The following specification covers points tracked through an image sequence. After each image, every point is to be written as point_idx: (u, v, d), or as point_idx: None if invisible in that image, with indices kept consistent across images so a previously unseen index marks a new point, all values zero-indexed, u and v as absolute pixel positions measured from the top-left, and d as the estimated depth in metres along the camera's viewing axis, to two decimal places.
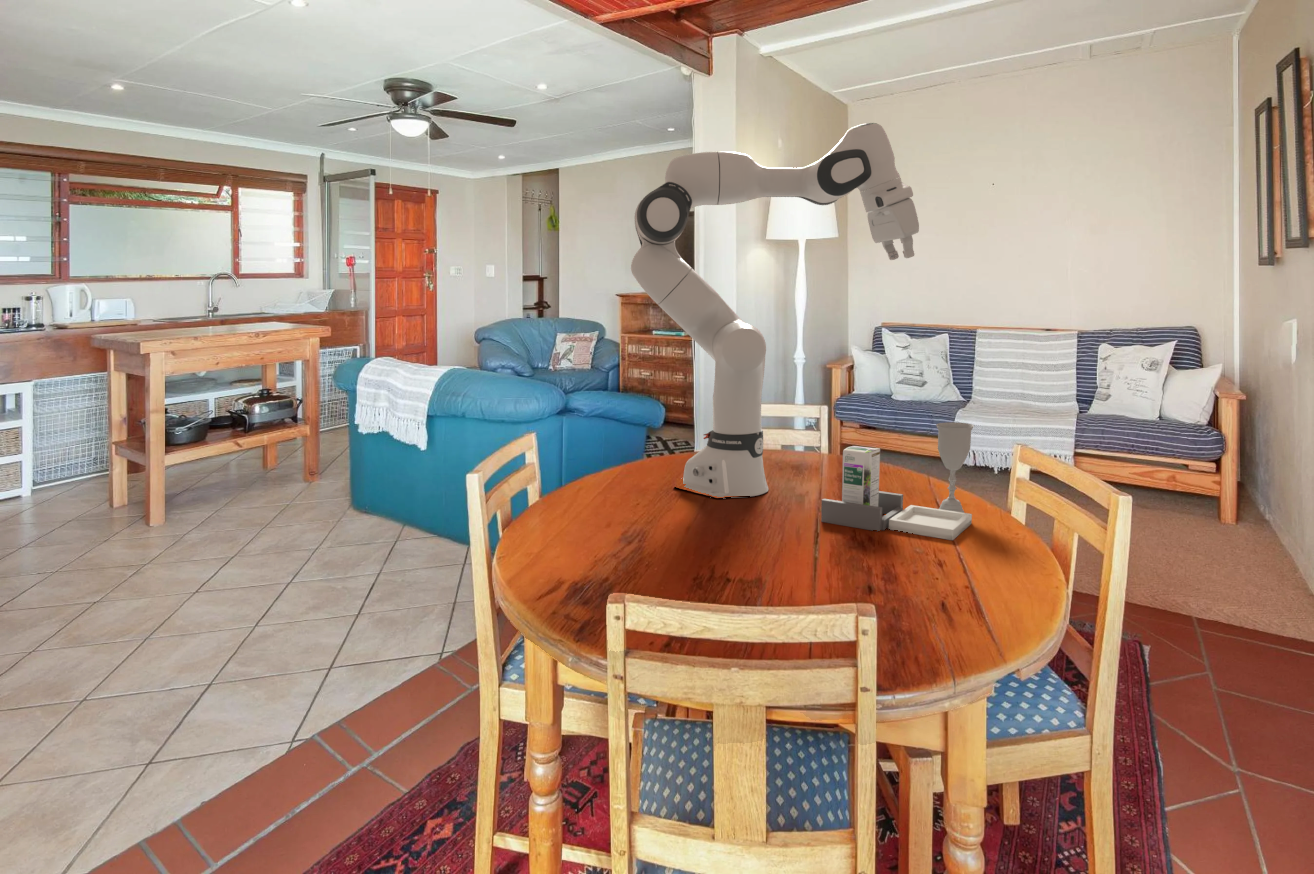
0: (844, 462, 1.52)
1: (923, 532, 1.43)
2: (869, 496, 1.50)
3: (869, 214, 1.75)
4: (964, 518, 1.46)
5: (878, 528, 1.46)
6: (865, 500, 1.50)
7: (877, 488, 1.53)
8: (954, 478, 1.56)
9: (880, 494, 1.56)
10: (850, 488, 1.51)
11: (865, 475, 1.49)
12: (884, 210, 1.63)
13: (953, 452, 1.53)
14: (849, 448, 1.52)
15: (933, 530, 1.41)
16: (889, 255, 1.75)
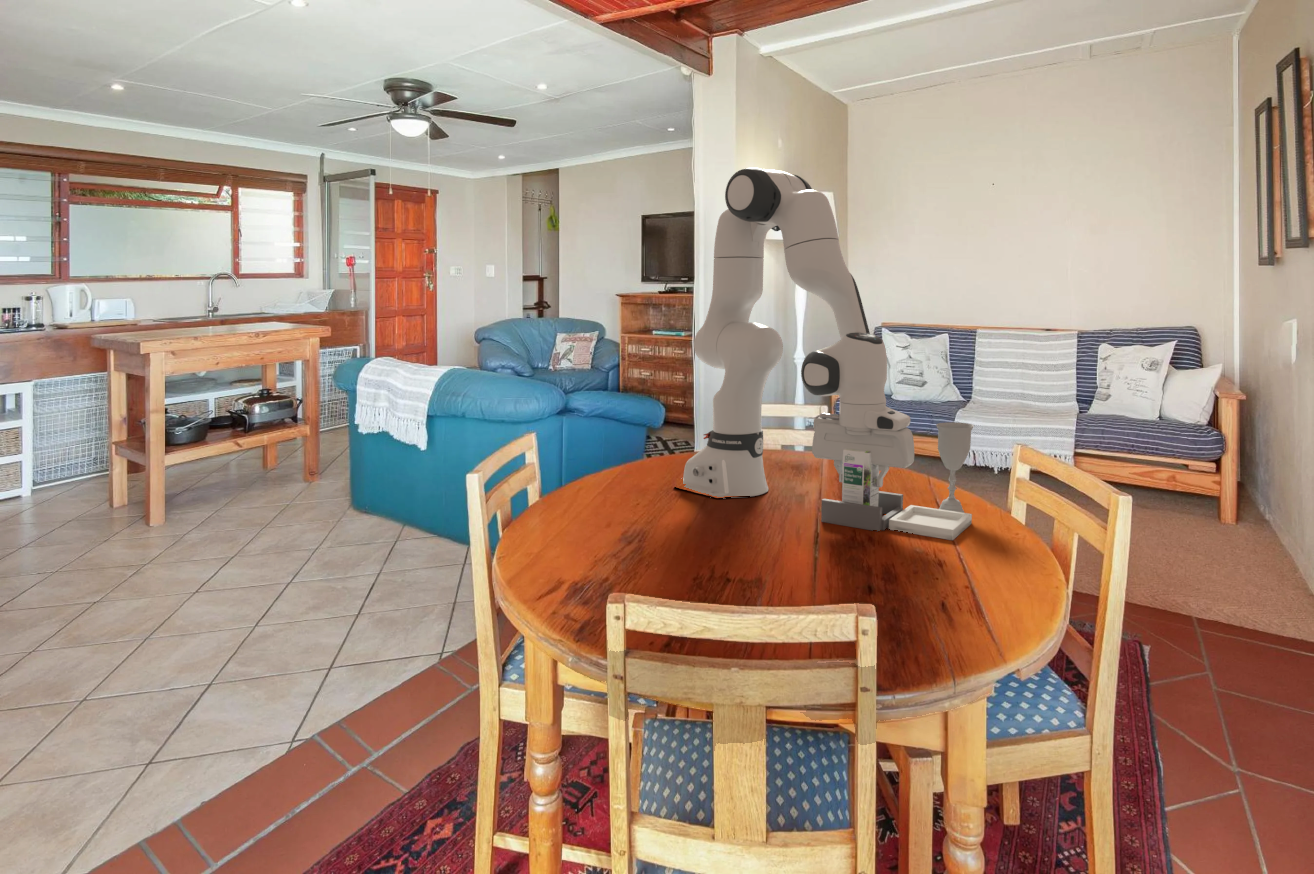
0: (844, 462, 1.52)
1: (923, 532, 1.43)
2: (869, 496, 1.50)
3: (824, 426, 1.54)
4: (964, 518, 1.46)
5: (878, 528, 1.46)
6: (864, 500, 1.50)
7: (877, 488, 1.53)
8: (954, 478, 1.56)
9: (880, 494, 1.56)
10: (850, 488, 1.51)
11: (865, 475, 1.49)
12: (885, 433, 1.45)
13: (953, 452, 1.53)
14: None
15: (933, 530, 1.41)
16: None
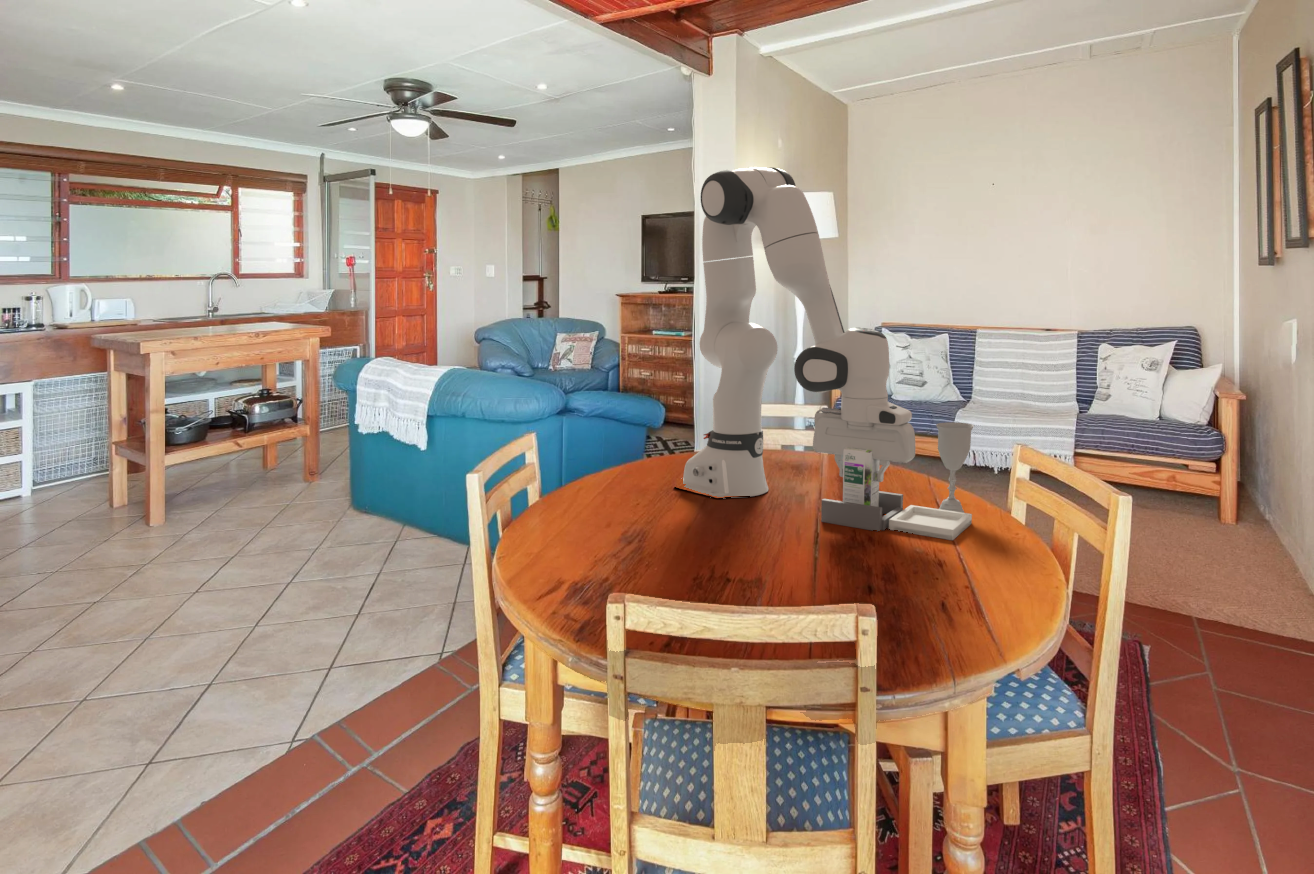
0: (844, 461, 1.52)
1: (923, 532, 1.43)
2: (870, 495, 1.51)
3: (826, 420, 1.54)
4: (964, 518, 1.46)
5: (878, 528, 1.46)
6: (865, 499, 1.51)
7: (877, 485, 1.54)
8: (954, 478, 1.56)
9: (880, 494, 1.56)
10: (851, 487, 1.52)
11: (866, 474, 1.50)
12: (887, 427, 1.46)
13: (953, 452, 1.53)
14: None
15: (933, 530, 1.41)
16: None
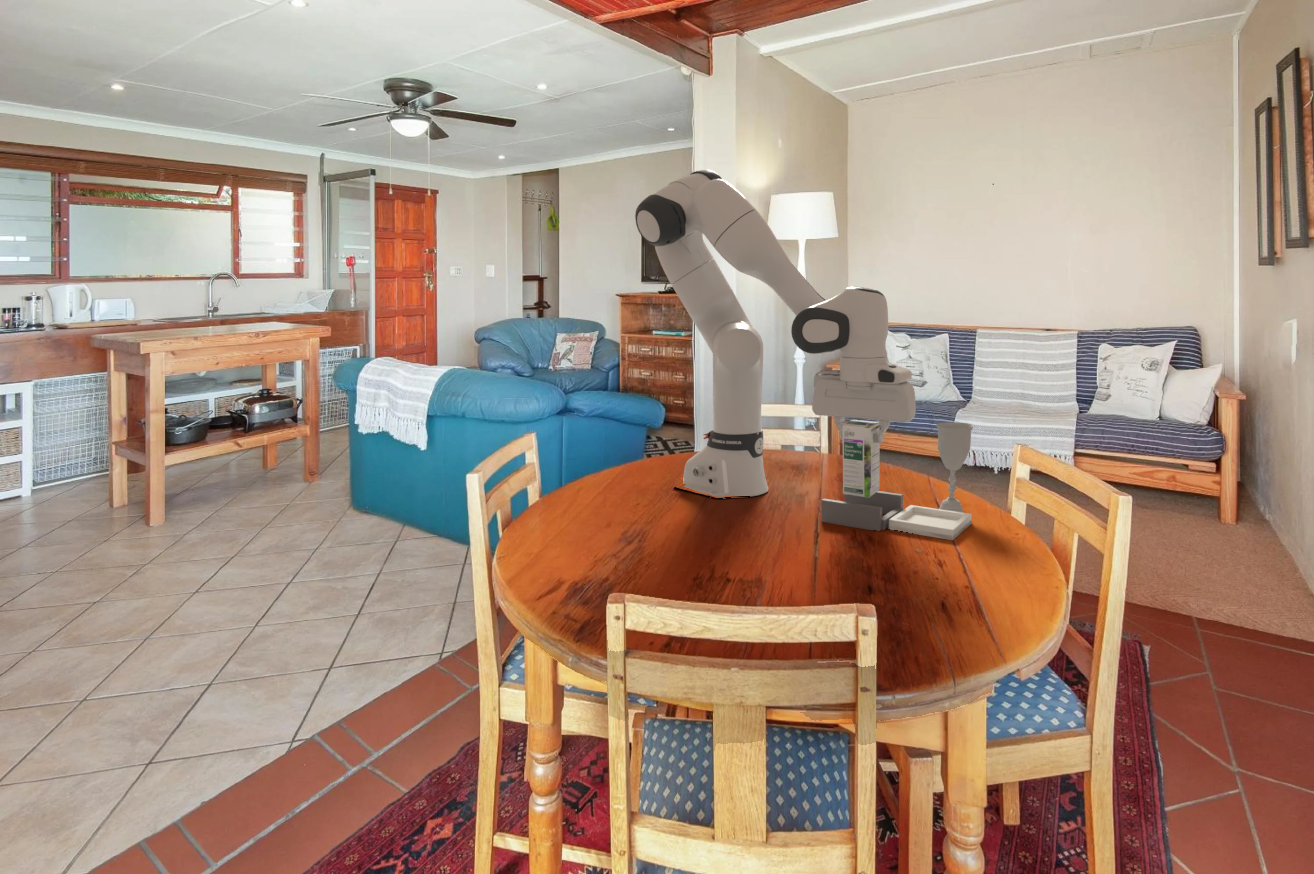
0: (844, 437, 1.50)
1: (923, 532, 1.43)
2: (870, 471, 1.49)
3: (825, 382, 1.52)
4: (964, 518, 1.46)
5: (878, 528, 1.46)
6: (866, 475, 1.49)
7: (878, 461, 1.52)
8: (954, 478, 1.56)
9: (880, 494, 1.56)
10: (851, 463, 1.51)
11: (865, 450, 1.48)
12: (886, 387, 1.44)
13: (953, 452, 1.53)
14: (848, 423, 1.51)
15: (933, 530, 1.41)
16: None
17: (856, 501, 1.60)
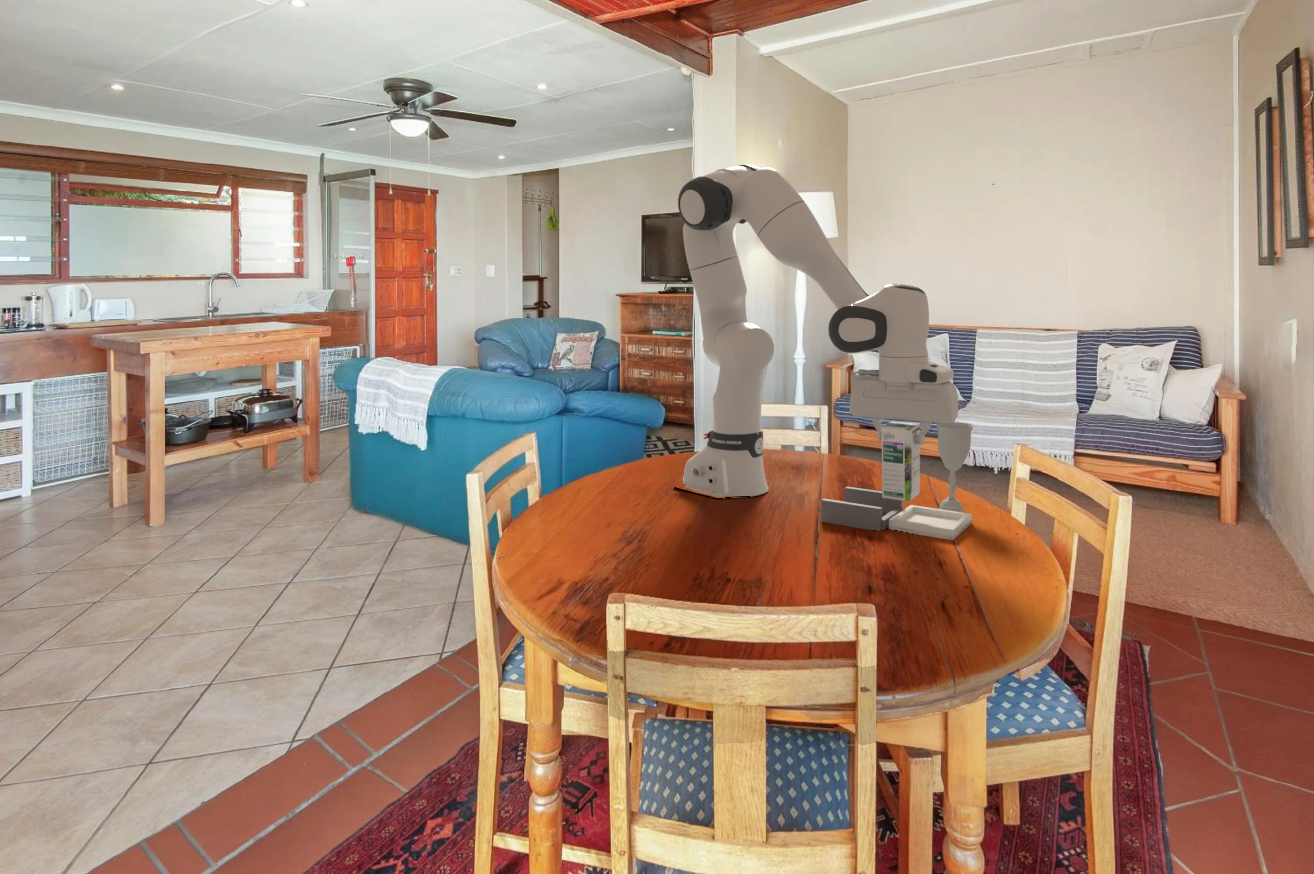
0: (883, 440, 1.46)
1: (923, 532, 1.43)
2: (910, 474, 1.45)
3: (863, 382, 1.48)
4: (964, 518, 1.46)
5: (878, 528, 1.46)
6: (906, 479, 1.45)
7: (918, 464, 1.48)
8: (954, 478, 1.56)
9: (880, 494, 1.56)
10: (891, 466, 1.47)
11: (906, 453, 1.44)
12: (928, 387, 1.39)
13: (953, 452, 1.53)
14: (887, 425, 1.47)
15: (933, 530, 1.41)
16: None
17: (856, 501, 1.60)
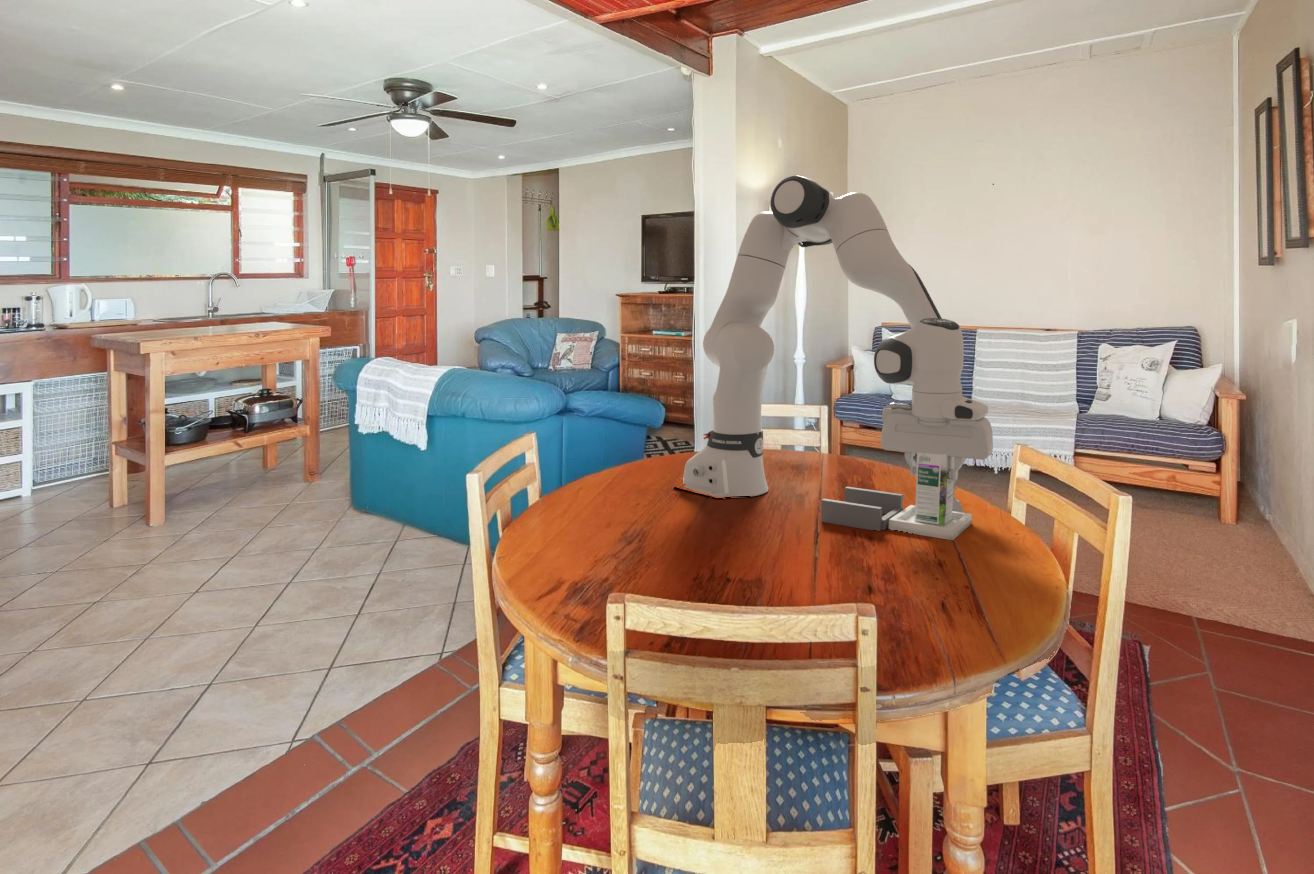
0: (918, 462, 1.46)
1: (923, 532, 1.43)
2: (945, 498, 1.44)
3: (895, 417, 1.47)
4: (964, 518, 1.46)
5: (878, 528, 1.46)
6: (941, 502, 1.44)
7: (952, 489, 1.47)
8: None
9: (880, 494, 1.56)
10: (925, 489, 1.46)
11: (941, 476, 1.43)
12: (963, 423, 1.39)
13: None
14: None
15: (933, 530, 1.41)
16: (914, 469, 1.47)
17: (856, 501, 1.60)
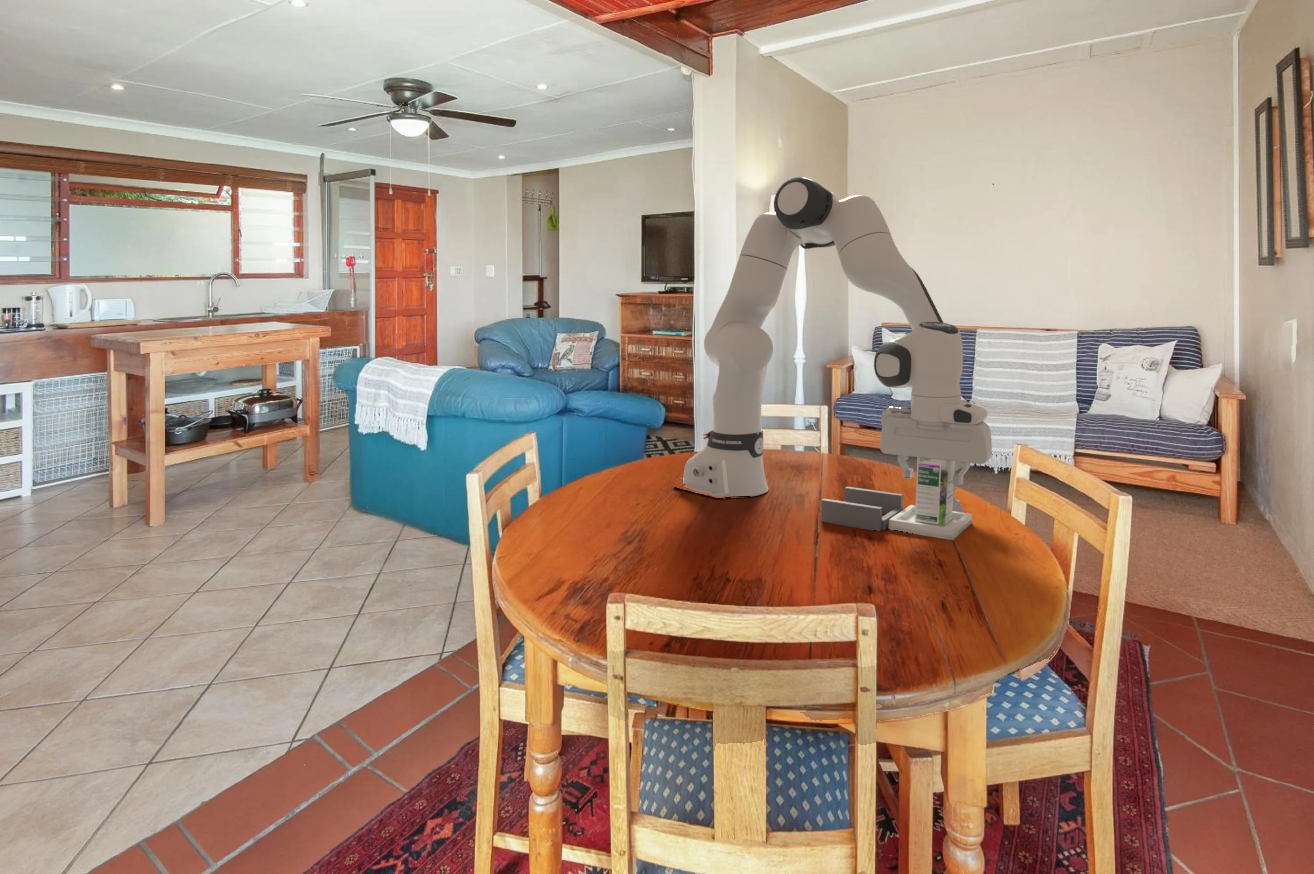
0: (919, 462, 1.46)
1: (923, 532, 1.43)
2: (946, 498, 1.44)
3: (894, 420, 1.47)
4: (964, 518, 1.46)
5: (878, 528, 1.46)
6: (941, 502, 1.44)
7: (952, 489, 1.47)
8: None
9: (880, 494, 1.56)
10: (925, 489, 1.46)
11: (942, 476, 1.44)
12: (962, 427, 1.38)
13: None
14: None
15: (933, 530, 1.41)
16: (907, 472, 1.48)
17: (856, 501, 1.60)
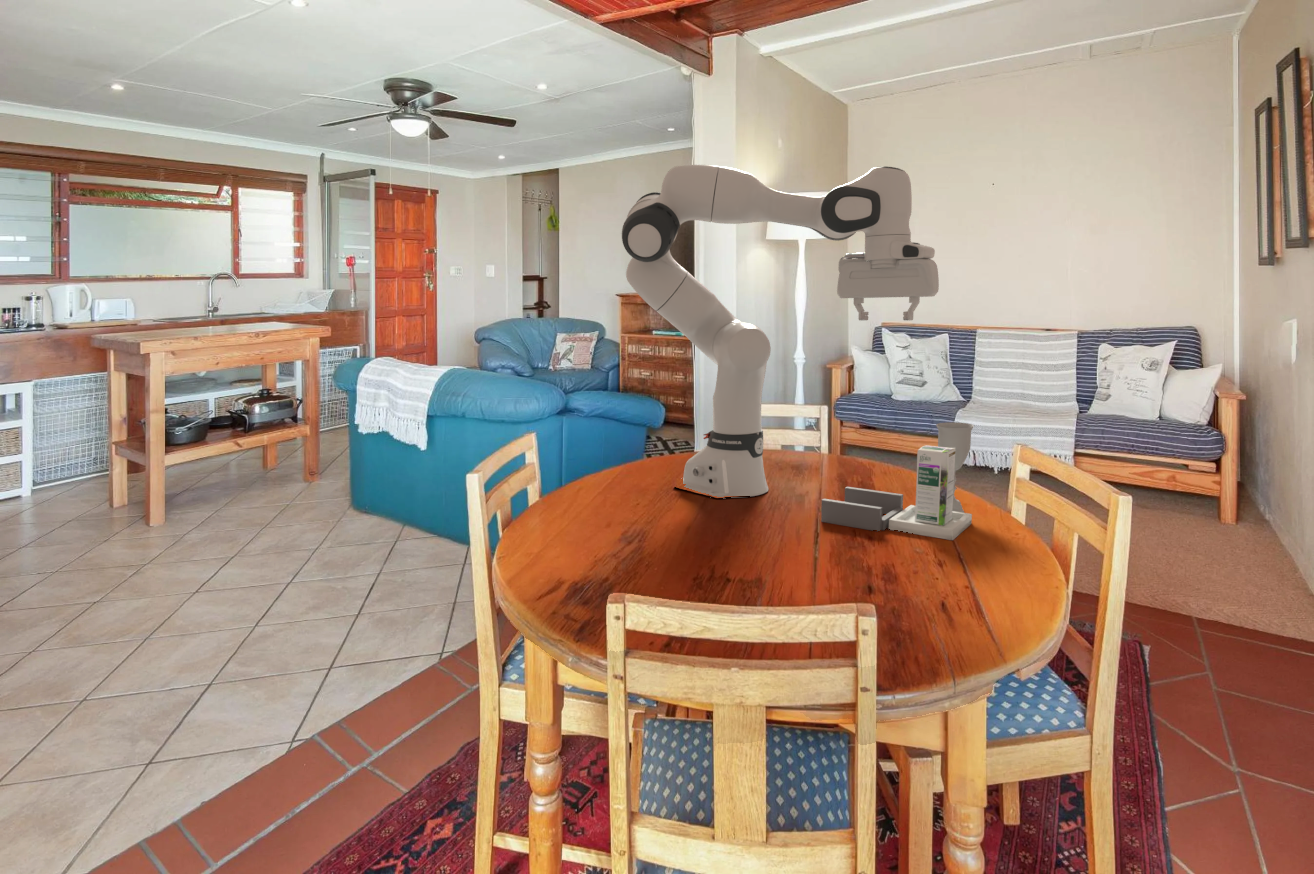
0: (919, 462, 1.46)
1: (923, 532, 1.43)
2: (946, 498, 1.44)
3: (850, 265, 1.57)
4: (964, 518, 1.46)
5: (878, 528, 1.46)
6: (941, 502, 1.44)
7: (952, 489, 1.47)
8: (954, 478, 1.56)
9: (880, 494, 1.56)
10: (925, 489, 1.46)
11: (942, 476, 1.44)
12: (910, 262, 1.49)
13: None
14: (924, 448, 1.46)
15: (933, 530, 1.41)
16: (862, 314, 1.58)
17: (856, 501, 1.60)
